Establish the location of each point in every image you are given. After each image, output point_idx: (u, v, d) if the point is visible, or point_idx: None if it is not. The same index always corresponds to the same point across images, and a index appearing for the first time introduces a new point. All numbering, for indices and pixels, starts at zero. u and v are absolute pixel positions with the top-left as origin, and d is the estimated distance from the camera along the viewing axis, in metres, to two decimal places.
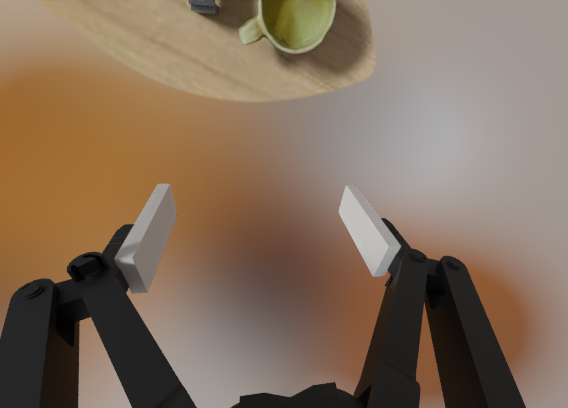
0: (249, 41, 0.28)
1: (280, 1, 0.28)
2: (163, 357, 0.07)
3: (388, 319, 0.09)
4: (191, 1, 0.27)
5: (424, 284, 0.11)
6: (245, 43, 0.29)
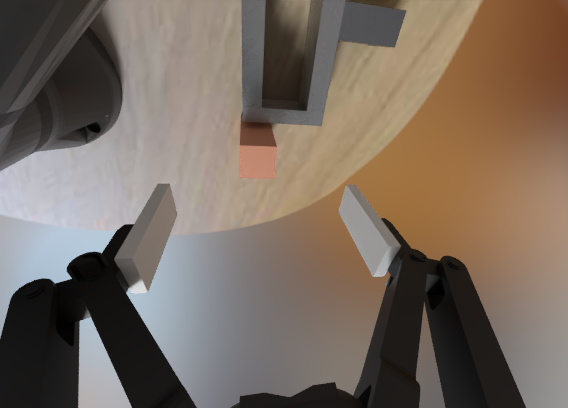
0: None
1: None
2: (163, 357, 0.07)
3: (388, 319, 0.09)
4: (393, 43, 0.22)
5: (424, 284, 0.11)
6: None
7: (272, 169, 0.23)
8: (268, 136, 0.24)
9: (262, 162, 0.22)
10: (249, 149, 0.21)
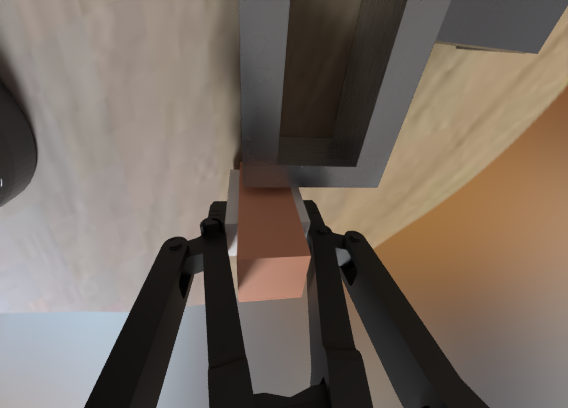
0: None
1: None
2: (239, 324, 0.08)
3: (318, 303, 0.09)
4: (538, 46, 0.11)
5: (335, 254, 0.12)
6: None
7: (299, 285, 0.12)
8: (289, 218, 0.13)
9: (280, 279, 0.12)
10: (257, 264, 0.11)
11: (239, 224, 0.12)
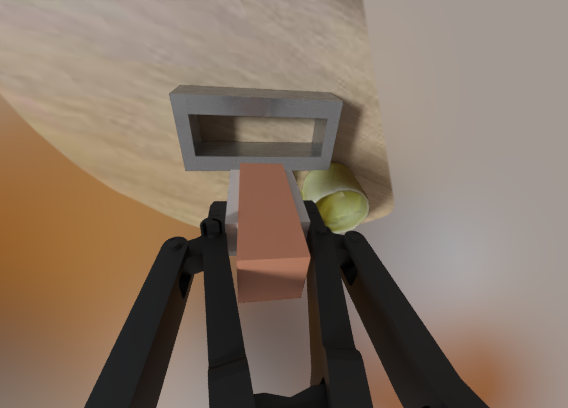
0: None
1: (322, 199, 0.34)
2: (239, 324, 0.08)
3: (318, 303, 0.09)
4: None
5: (335, 254, 0.12)
6: None
7: (299, 286, 0.12)
8: (288, 220, 0.13)
9: (280, 279, 0.12)
10: (256, 265, 0.11)
11: (239, 225, 0.12)
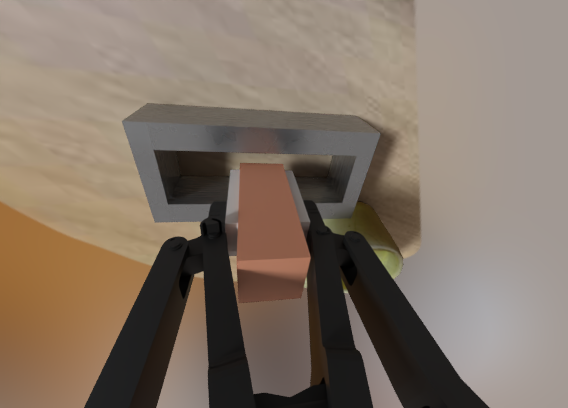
0: None
1: None
2: (239, 324, 0.08)
3: (318, 303, 0.09)
4: None
5: (335, 254, 0.12)
6: None
7: (299, 286, 0.12)
8: (288, 220, 0.13)
9: (280, 280, 0.12)
10: (257, 265, 0.11)
11: (239, 225, 0.12)
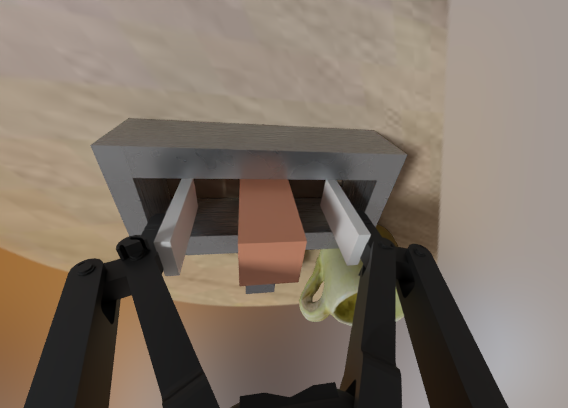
0: (313, 321, 0.24)
1: None
2: (189, 341, 0.08)
3: (365, 310, 0.09)
4: (248, 292, 0.22)
5: (394, 270, 0.11)
6: None
7: (296, 270, 0.13)
8: (286, 208, 0.14)
9: (278, 263, 0.12)
10: (257, 248, 0.11)
11: (240, 213, 0.13)
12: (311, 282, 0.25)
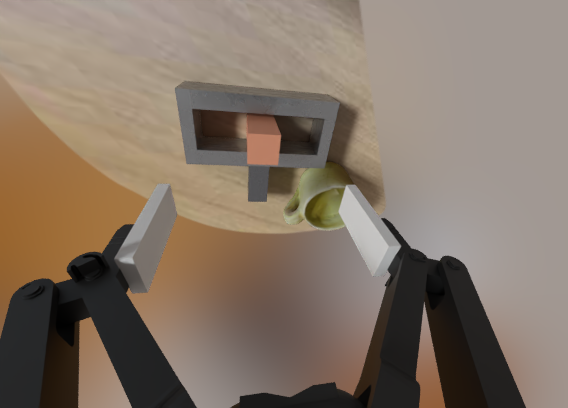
0: (292, 224, 0.36)
1: (317, 197, 0.36)
2: (163, 357, 0.07)
3: (388, 319, 0.09)
4: (250, 200, 0.34)
5: (424, 284, 0.11)
6: (288, 223, 0.36)
7: (276, 156, 0.25)
8: (272, 126, 0.26)
9: (267, 149, 0.25)
10: (256, 137, 0.24)
11: (248, 126, 0.25)
12: (291, 201, 0.37)
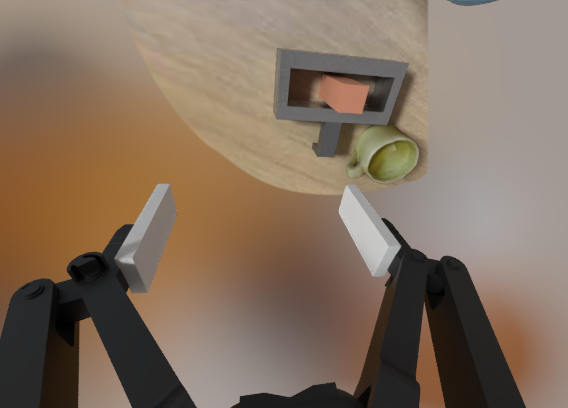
0: (354, 177, 0.42)
1: (377, 152, 0.41)
2: (163, 357, 0.07)
3: (388, 319, 0.09)
4: (321, 155, 0.40)
5: (424, 284, 0.11)
6: (351, 177, 0.42)
7: (362, 105, 0.31)
8: (356, 82, 0.32)
9: (356, 99, 0.30)
10: (350, 87, 0.29)
11: (338, 81, 0.31)
12: (352, 158, 0.43)
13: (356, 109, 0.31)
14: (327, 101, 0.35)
